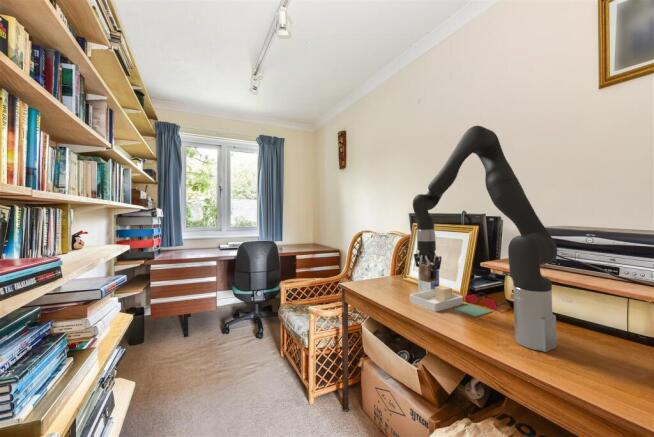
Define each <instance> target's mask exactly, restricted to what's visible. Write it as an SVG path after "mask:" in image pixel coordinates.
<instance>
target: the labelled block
mask: <svg viewBox="0 0 654 437" xmlns="http://www.w3.org/2000/svg"><path fill="white" fill-rule="evenodd" d="M432 267H433V265H432ZM418 268H419V276H420V280H421V281H425V282H433V281H437V272H436V279H435V280H431V274H430V271H431V270H430V266H428V264H422V265H419V267H418Z"/></svg>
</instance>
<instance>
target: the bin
mask: <svg viewBox="0 0 654 437" xmlns="http://www.w3.org/2000/svg"><path fill="white" fill-rule="evenodd" d="M409 302H410V303H413V304H415V305H418V306H420V307H422V308H425V309H427V310H430V311H432V312H434V313H435V312H439V311H443V310H447V309H450V308H453V307H454V308H456V307H459V306H463V305H464V297H463V296H462V295H458V294H454V293H452V299H449V300H446V301H442V302H439V301H436V300H435V289H432V290H428V291H423V292H420V291H418V292H416V293H411V294H409Z"/></svg>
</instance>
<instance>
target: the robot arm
mask: <svg viewBox="0 0 654 437" xmlns="http://www.w3.org/2000/svg"><path fill="white" fill-rule="evenodd" d="M498 137H499V136H497V133H496V132H494V131H493V130H492V129H489V128H487V127H484V126H482V125H473V126H471V127H469V128H468V129H467V130H466V131H465V132H464V134H462V136H461V138H460V139H459V141H458V143H457V144H456V146H455V148H454V149H453V151H452V152H451V154H450V156H449V157H448V159H447V161H446V162H445V164H444V165H443V167H442V168H441V169H440V171H438V173H437V174H436V175H435V177H434V178H433V179H432V180H431V182H429V184H428V185H427V186H428V187H427V188H428V191H427V193H426V194H423V193H419V194H417V195H415V196H414V197H413V199H412V208H413V209H412V210H413V213H414V215H415V219H416V230H417V231H416V241H417V242H416V244H417V251H418V253H414V254H413V259H414V263H415V267H417V268H419V265H422V264H428V266H430V270H431V271H430V274H431V280H435V279H436V270H439V271H440V270H441V266H442V265H441V264H442V259H443V258H442V256H441V255H440V256H438V255H436V250H437V245H436V244H437V243H436V231H435V221H434V219H435V218H434V217H433V216H431V215H430V212H429V211H430V210H433V209H434V208H435V207H437V205H438V204H439V202H440V201H441V199H442V197H443V195H444V194H445V193H446V191H447V190H448V189H449V188H450V187H451V186H452V185H453V184H454V183H455V181H456V179H457V177H458V174H459V171H460V169H461V167H462V165H463V163H464V162H465V161H466V159H467V158H468V157H469V156H471V155H472V154H475V155H476V156H477V157H478V158H479V160H480V162H481V163H482V165H483V168H484V170H485V171H484V172H485V178H484V179H485V187H486V188H485V189H486V190H487V193H488V196H489V197H490V200H491V201H492V203H493V205H494V206H495V207H496V208H497V209H498V210H499V211H500V212H501V213H502V215H504V216H506V218H508V219H509V220H510V222H512V223H513V224H514V225H515V227H516V228H517V230H518V233H519V234H520V235H517V236H514V237H513V238H512V239H511V240H510V242H509V243H508V246H507V247H508V248H507V254H508V266H509V274H510V277H511V280H512V283H513V284H512V286H513V288H512V289H513V300H514V301H513V313H514V314H513V319H514V341H515V342H516V343H517V344H519V345H520V346H523V347H525V348H528V349H531V350H535V351H541V352H543V353H548V352H550V351H552V350H554V349H556V348H557V346H558V344H557V340H558V339H557V316H556V314H553V286H552V285H553V284H552V280H551V279H550V278H548V277H545V276H543V275H542V272H541V266H540V265H547V264H551V263H553V262H554V261H555V260H556V259H557V258H558V246H557V244H556V243H555V240H554V239H553V237H552V235H551V234H550V232H549V231H548V229H547V228H546V227H545V225H544V224H543V223H542V221H541V220H540V217H539V216H538V215H537V213H536V212H535V209H534V208H533V206H532V204H531V202H530V200H529V198H528V197H527V195H526V193H525V190H524V188H523V186H522V184H521V183H520V181H519V179H518V177H517V175H516V174H515V172H514V170H513V169H512V166H511V165H510V163H509V161H508V160H507V159H506V156H505V154H504V151H503V148H502V146H501V143H500V140H499V138H498ZM432 265H433V267H432Z"/></svg>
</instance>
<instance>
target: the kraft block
mask: <svg viewBox="0 0 654 437" xmlns="http://www.w3.org/2000/svg"><path fill="white" fill-rule="evenodd" d="M452 294H453V288H452V287H449V286H445V285H439V286H438V287H435V300H436V301H439V302H442V301H446V300H449V299H452Z"/></svg>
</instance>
